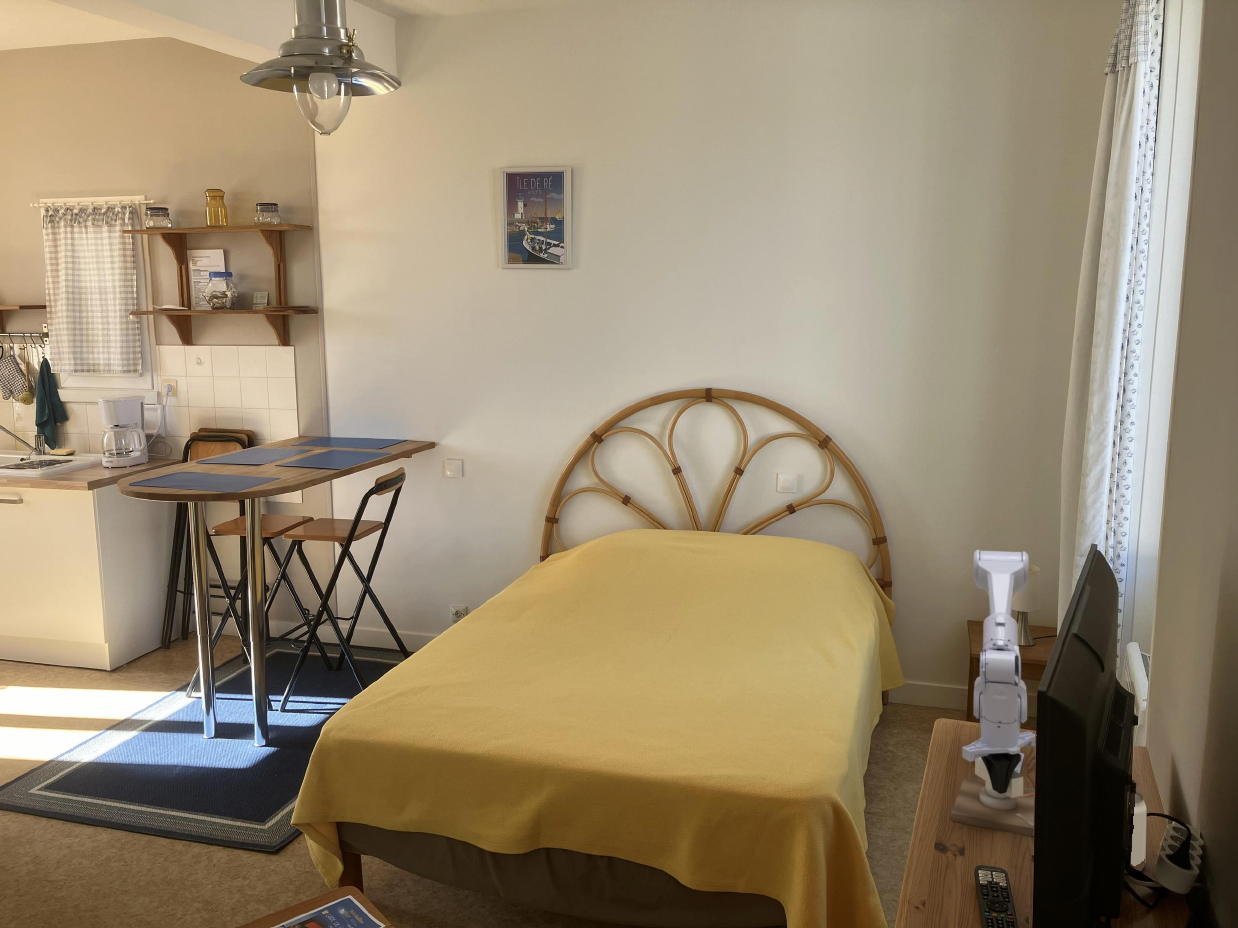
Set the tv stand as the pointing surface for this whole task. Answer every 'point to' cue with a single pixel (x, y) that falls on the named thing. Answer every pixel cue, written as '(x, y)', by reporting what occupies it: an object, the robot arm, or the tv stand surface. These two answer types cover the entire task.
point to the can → (1139, 830)
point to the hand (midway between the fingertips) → (999, 790)
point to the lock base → (994, 809)
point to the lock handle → (980, 769)
